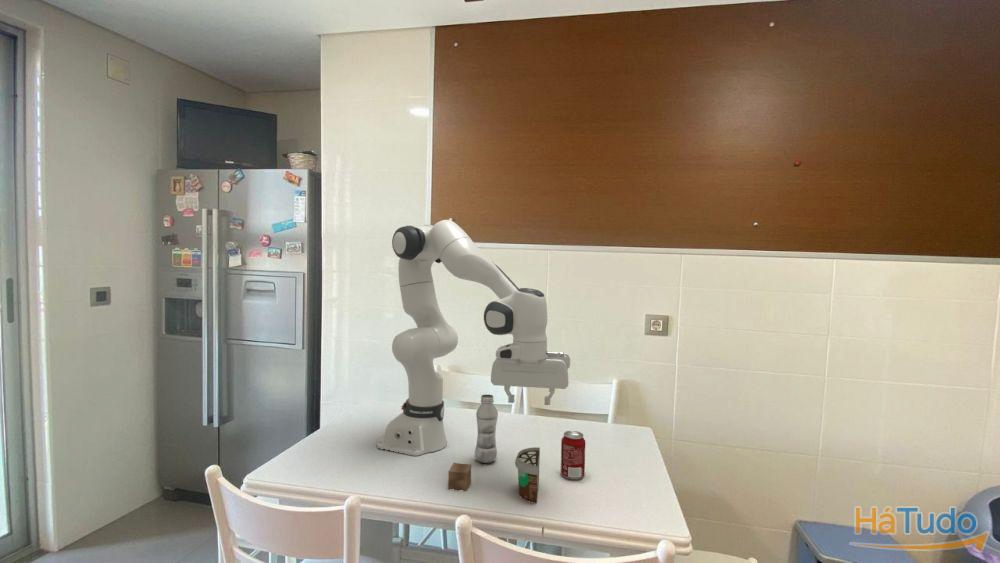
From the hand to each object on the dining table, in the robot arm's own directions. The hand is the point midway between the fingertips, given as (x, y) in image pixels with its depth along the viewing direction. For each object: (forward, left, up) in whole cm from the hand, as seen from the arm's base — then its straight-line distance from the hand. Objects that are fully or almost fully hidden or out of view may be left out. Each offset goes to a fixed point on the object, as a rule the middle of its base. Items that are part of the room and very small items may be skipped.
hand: (529, 403), depth 117 cm
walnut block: (-18, 0, -24) cm, 30 cm away
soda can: (+12, +12, -24) cm, 29 cm away
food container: (0, 0, -24) cm, 24 cm away
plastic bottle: (-14, +16, -24) cm, 32 cm away
